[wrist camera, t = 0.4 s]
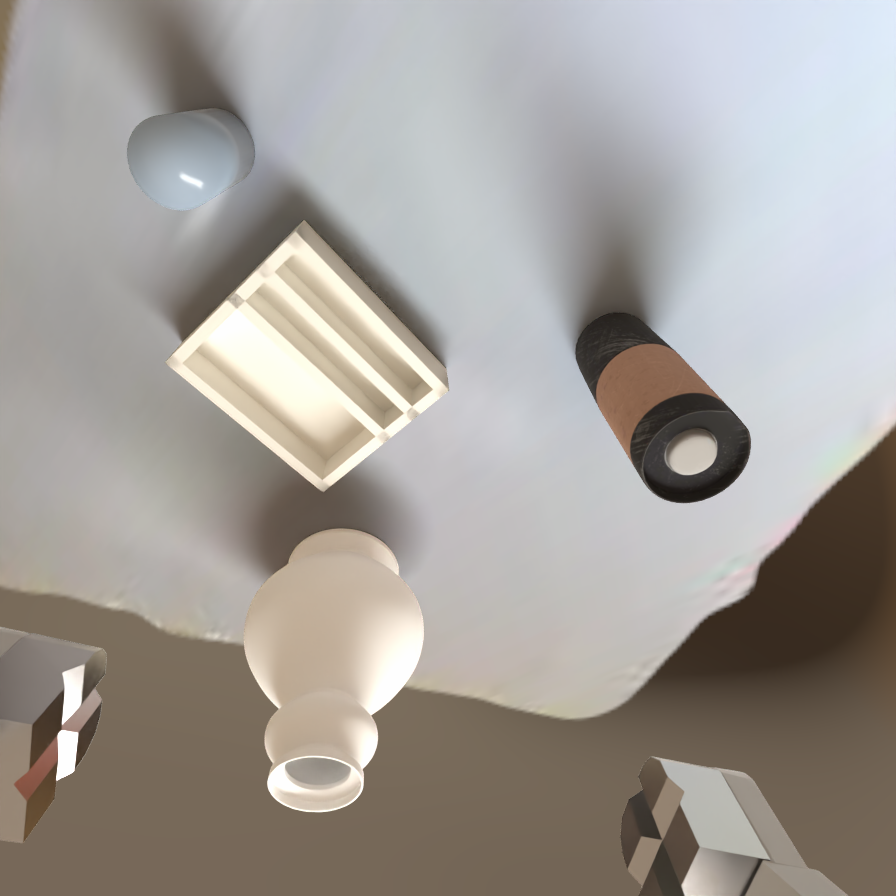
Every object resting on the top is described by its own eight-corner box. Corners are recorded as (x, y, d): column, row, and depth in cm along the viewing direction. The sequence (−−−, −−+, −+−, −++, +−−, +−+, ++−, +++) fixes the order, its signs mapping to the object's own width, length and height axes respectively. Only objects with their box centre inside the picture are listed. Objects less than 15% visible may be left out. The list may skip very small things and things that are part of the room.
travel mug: (571, 388, 61) (635, 510, 44) (573, 312, 57) (644, 413, 40) (649, 381, 61) (743, 500, 44) (656, 305, 57) (763, 402, 40)
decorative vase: (229, 567, 70) (151, 783, 49) (345, 479, 65) (314, 677, 44) (341, 649, 78) (316, 868, 56) (453, 576, 73) (472, 786, 51)
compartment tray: (304, 219, 52) (295, 231, 48) (446, 368, 59) (449, 390, 55) (182, 342, 57) (164, 362, 53) (328, 466, 64) (322, 492, 60)
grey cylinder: (213, 90, 47) (163, 93, 38) (269, 151, 49) (236, 168, 40) (167, 144, 49) (108, 159, 39) (223, 200, 51) (181, 228, 42)
